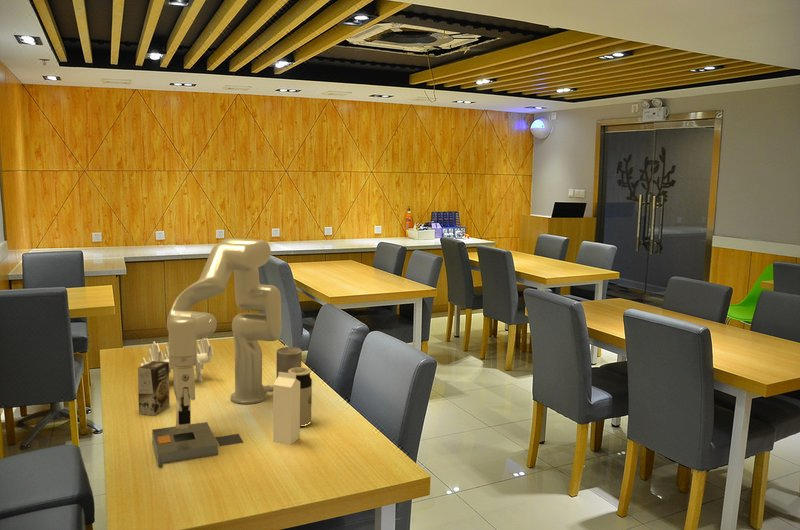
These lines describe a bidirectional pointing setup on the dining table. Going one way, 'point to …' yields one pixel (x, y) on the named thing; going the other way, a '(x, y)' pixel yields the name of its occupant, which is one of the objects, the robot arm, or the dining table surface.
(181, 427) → the peg
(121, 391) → the dining table surface
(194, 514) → the dining table surface
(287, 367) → the pillar candle
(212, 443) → the block
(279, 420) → the milk
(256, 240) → the robot arm
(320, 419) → the dining table surface
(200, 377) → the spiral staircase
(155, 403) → the coffee box
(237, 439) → the pad
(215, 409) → the dining table surface
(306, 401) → the travel mug
